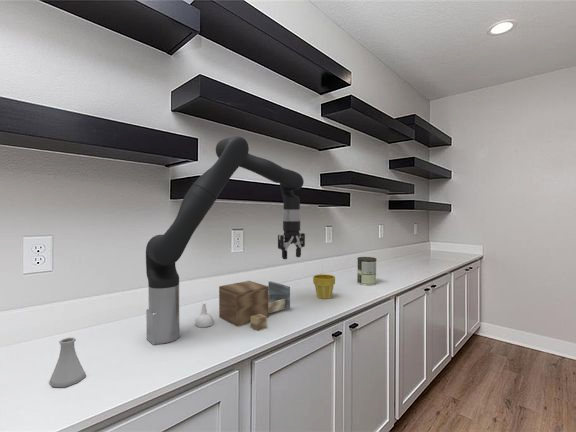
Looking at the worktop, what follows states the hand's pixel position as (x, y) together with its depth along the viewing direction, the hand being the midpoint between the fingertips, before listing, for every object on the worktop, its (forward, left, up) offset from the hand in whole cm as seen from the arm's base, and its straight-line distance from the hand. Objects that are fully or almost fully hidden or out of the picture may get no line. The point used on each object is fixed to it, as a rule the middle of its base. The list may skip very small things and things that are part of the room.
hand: (291, 258), depth 138 cm
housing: (-25, 0, -20) cm, 32 cm away
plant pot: (+19, -2, -21) cm, 28 cm away
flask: (-82, -8, -21) cm, 84 cm away
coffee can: (+57, 0, -21) cm, 61 cm away
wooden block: (-27, -12, -20) cm, 35 cm away
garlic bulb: (-39, +4, -21) cm, 45 cm away
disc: (-12, 0, -18) cm, 22 cm away
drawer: (-13, 0, -19) cm, 23 cm away
